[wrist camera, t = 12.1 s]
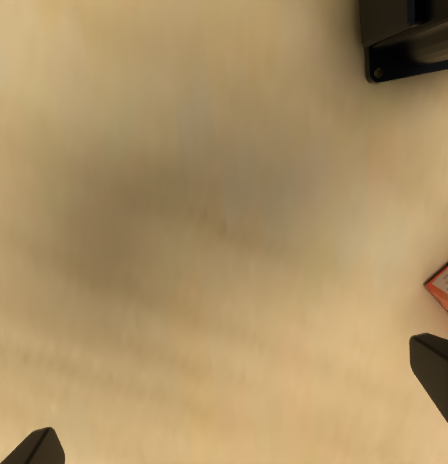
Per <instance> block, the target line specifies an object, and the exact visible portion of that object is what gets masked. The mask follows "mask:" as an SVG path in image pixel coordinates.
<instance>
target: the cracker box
mask: <svg viewBox="0 0 448 464" xmlns="http://www.w3.org/2000/svg"><path fill="white" fill-rule="evenodd" d="M425 287H426V288H427V289H428V290H429V291H430V292H431V293H432V294H433V295H434V297H435V298H436V299H437V300H438V301H439V302H440V303H441V305H442V306H443V307H444V308H445V309H446V310H447V311H448V266H447V267H446V268H445V269H444V270H442V271H441V272H440V273H439V274H438V275H437V276H436V277H434V278H433V279H432V280H431V281H430V282H429V283H427V284H426V286H425Z"/></svg>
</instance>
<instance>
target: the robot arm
mask: <svg viewBox="0 0 448 464" xmlns="http://www.w3.org/2000/svg"><path fill="white" fill-rule="evenodd" d="M359 9H360V24H361V40H362V44H363V45H364V47H365V63H366V77H367V80H368V81H369V82H370V83H380V82H385V81H390V80H395V79H400V78H405V77H410V76H415V75H420V74H425V73H430V72H435V71H440V70H445V69H448V0H359ZM376 69H377V70H378V71H379V76H378V77H375V75H374V72H375V70H376ZM409 347H410V365H411V368H412V370H413V372H414V374H415V376H416V377H417V378H418V380H419V381H420V383H421V384H422V386H423V387H424V389H425V390H426V392H427V393H428V395H429V396H430V398H431V399H432V401H433V402H434V403H435V405H436V406H437V408H438V409H439V411H440V412H441V414H442V415H443V417H444V418H445V420H446V421H447V422H448V340H447V339H444V338H441V337H438V336H435V335H432V334H429V333H422V334H418V335H414V336H412V337H411V338H410V340H409ZM0 464H65V454H64V450H63V448H62V446H61V443H60V441H59V439H58V437H57V434H56V432H55V430H54V429H53V428H52V427H46V428H42V429H38V430H35V431H33V432H32V433H31V434H29V435H28V436H27V437H26V438H25V439H24V440H23V441H22V442H21V443H20V444H19V445H18V446H17V447H16V448H15V449H14V450H13V451H12V452H11V453H10V454H9V455H8V456H7V457H6V458H5V459H4V460H3V461H2V462H1V463H0Z"/></svg>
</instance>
